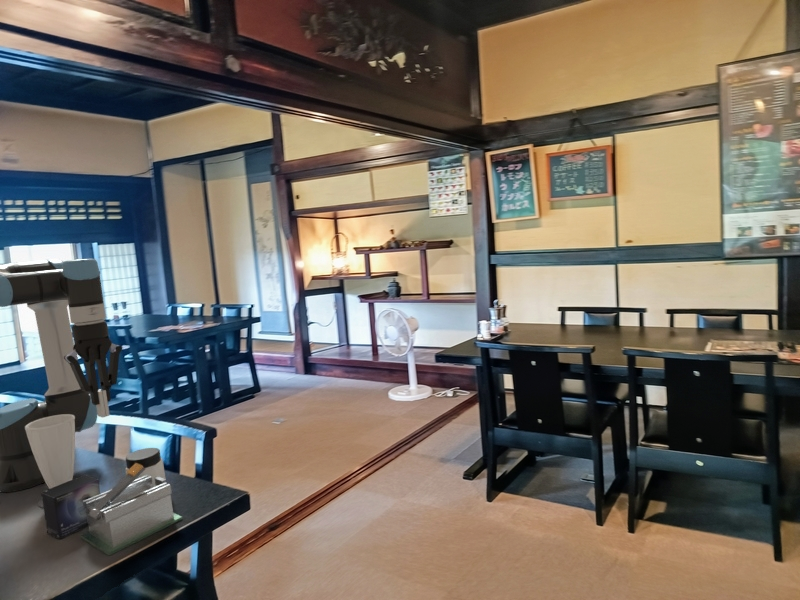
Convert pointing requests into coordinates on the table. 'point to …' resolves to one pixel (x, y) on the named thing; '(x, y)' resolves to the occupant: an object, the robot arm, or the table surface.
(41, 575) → the table surface
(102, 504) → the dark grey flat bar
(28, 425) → the cup
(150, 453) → the jar
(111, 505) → the heatsink
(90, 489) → the small box
